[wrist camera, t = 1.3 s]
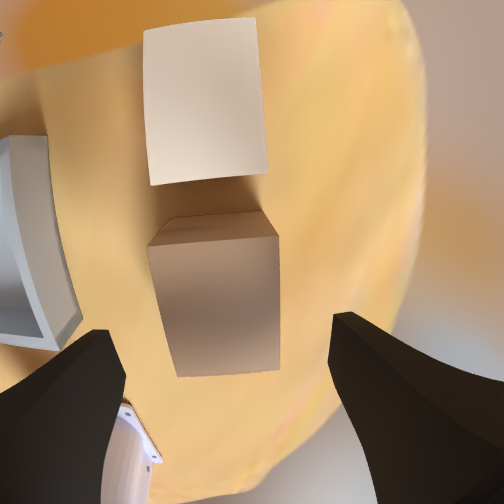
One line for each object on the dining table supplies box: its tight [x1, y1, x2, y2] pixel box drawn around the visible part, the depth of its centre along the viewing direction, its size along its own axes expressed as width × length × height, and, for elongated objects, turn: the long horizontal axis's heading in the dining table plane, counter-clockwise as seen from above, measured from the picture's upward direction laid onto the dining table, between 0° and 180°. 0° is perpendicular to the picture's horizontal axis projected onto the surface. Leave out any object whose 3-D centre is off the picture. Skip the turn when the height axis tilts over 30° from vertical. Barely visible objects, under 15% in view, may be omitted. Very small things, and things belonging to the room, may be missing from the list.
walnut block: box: [147, 211, 280, 377], centre depth 12 cm, size 6×4×4 cm
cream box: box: [143, 17, 268, 186], centre depth 10 cm, size 6×4×4 cm, turn 4°
